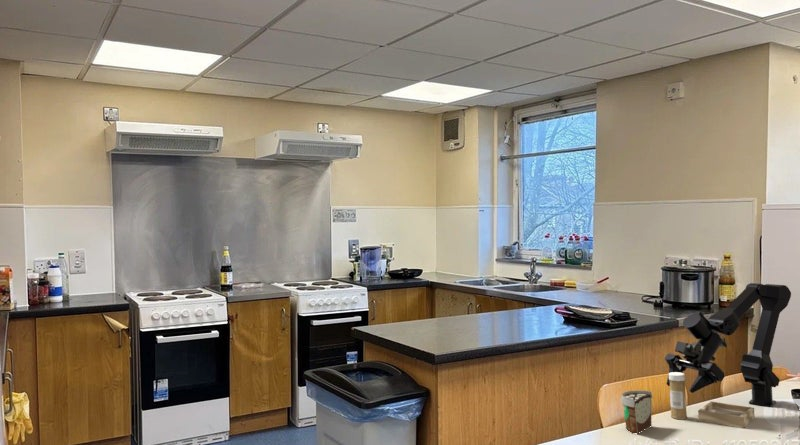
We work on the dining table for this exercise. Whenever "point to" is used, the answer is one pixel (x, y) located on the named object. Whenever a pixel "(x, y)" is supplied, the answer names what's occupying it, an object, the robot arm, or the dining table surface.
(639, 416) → the food container
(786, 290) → the robot arm
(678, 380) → the sprinkles bottle
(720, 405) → the box
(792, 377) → the dining table surface
